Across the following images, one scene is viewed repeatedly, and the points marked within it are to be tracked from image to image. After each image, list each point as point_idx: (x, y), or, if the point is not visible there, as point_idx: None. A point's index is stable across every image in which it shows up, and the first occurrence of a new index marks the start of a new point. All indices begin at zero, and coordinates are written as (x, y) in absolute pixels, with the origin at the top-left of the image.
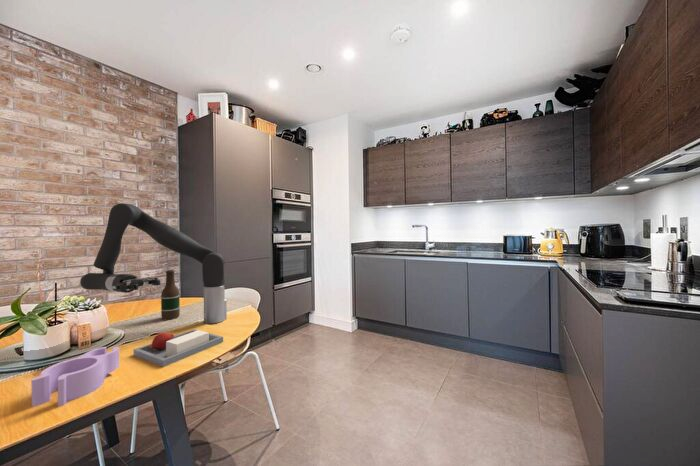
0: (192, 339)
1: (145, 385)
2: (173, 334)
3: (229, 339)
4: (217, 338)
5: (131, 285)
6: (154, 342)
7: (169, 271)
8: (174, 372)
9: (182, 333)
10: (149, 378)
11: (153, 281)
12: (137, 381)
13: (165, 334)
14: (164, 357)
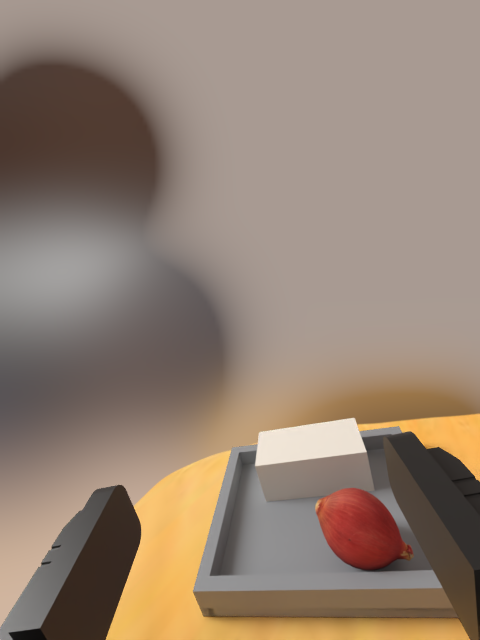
0: (309, 426)
1: (449, 417)
2: (318, 500)
3: (204, 479)
4: (245, 448)
5: (470, 494)
6: (392, 516)
7: None
8: (385, 425)
9: (251, 583)
10: (438, 434)
11: (77, 603)
12: (466, 438)
13: (348, 488)
14: (382, 483)
